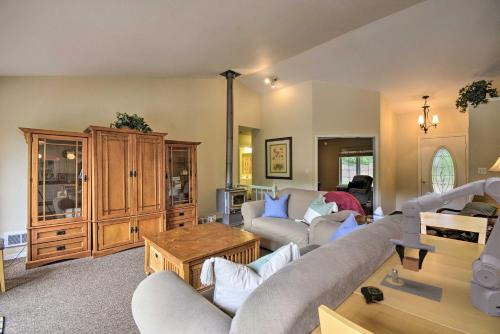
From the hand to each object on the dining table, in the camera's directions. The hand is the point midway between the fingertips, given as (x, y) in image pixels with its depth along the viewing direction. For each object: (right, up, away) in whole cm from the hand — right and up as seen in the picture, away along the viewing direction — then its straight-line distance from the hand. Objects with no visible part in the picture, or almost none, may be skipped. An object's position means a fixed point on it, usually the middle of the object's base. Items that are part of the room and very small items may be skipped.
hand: (411, 266), depth 94 cm
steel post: (-4, -9, +4) cm, 11 cm away
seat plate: (0, -9, 0) cm, 9 cm away
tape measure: (-19, -10, -6) cm, 22 cm away
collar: (0, -1, 0) cm, 1 cm away
